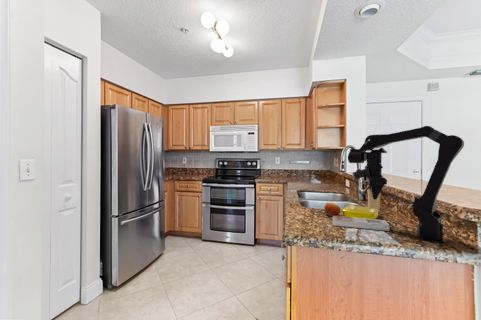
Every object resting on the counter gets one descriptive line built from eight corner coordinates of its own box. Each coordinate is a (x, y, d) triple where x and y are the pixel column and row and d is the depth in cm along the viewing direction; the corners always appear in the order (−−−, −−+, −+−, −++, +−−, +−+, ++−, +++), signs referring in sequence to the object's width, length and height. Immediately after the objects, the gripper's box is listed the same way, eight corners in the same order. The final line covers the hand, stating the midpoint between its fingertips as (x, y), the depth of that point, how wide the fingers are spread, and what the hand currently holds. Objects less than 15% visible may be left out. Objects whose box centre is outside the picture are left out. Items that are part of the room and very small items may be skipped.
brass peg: (378, 207, 99) (378, 189, 99) (380, 208, 95) (380, 190, 95) (367, 206, 100) (367, 188, 100) (369, 208, 97) (369, 190, 96)
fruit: (318, 212, 120) (324, 199, 121) (328, 218, 122) (333, 205, 123) (328, 215, 112) (335, 201, 113) (339, 222, 114) (345, 208, 116)
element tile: (375, 223, 106) (374, 213, 106) (341, 217, 115) (341, 208, 115) (378, 216, 117) (378, 207, 117) (347, 212, 127) (347, 204, 127)
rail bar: (385, 225, 99) (385, 219, 99) (389, 231, 92) (389, 224, 92) (332, 220, 108) (332, 215, 108) (332, 225, 100) (332, 219, 100)
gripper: (351, 163, 109) (351, 194, 109) (356, 163, 92) (356, 201, 92) (377, 163, 105) (377, 195, 105) (387, 164, 88) (387, 202, 88)
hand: (373, 198), depth 98 cm, fingers closed on brass peg, 4 cm apart
